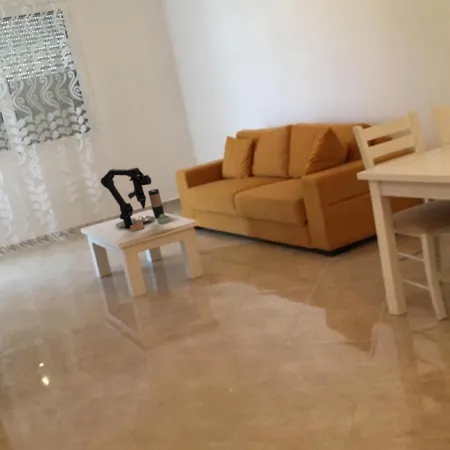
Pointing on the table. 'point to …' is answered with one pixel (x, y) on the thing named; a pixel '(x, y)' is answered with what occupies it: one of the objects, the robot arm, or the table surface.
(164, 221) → the green cup
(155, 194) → the travel mug
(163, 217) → the ball
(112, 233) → the table surface
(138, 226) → the terracotta cup
